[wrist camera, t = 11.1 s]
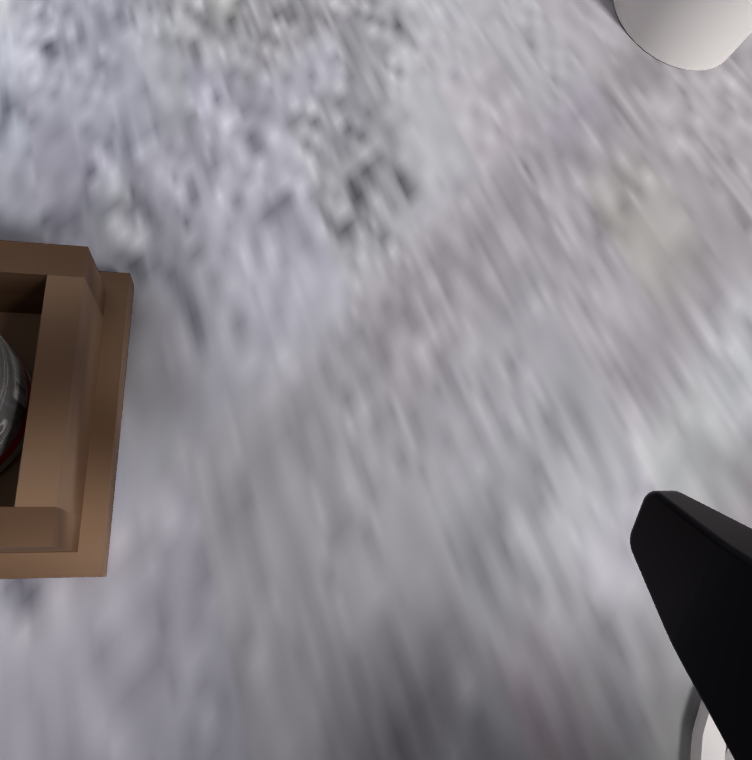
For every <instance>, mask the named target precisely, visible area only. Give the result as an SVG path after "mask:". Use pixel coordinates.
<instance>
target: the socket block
mask: <svg viewBox="0 0 752 760" xmlns="http://www.w3.org/2000/svg"><path fill="white" fill-rule="evenodd" d="M133 292H134V284H133V281H132V278H131V275H130V273H117V272H103V271H98V269H97V267H96V265H95V262H94V260H93V258H92V255H91V253H90V250H89V248H88V247H82V246H69V245H56V244H43V243H30V242H17V241H4V240H0V335H1V336H2V338H3V339H4V340H5V341H6V342H7V343H8V345H9V346H10V347H11V348H12V350H13V351H14V352H15V353H16V355H17V356H18V357H19V358H20V359H21V361H22V362H23V364H24V365H25V367H26V368H27V370H28V372H29V374H30V376H31V378H32V386H31V393H30V400H29V407H28V414H27V421H26V428H25V435H24V443H23V449H22V451H21V452H20V453H19V454H18V455H17V456H16V457H15V458H14V460H13V461H12V462H11V463H10V464H9V465H8V466H7V467H6V468H5V469H4V470H3V471H2V472H1V473H0V579H22V578H63V577H105V576H106V575H107V564H108V554H109V543H110V533H111V522H112V512H113V501H114V491H115V480H116V470H117V459H118V449H119V438H120V428H121V417H122V407H123V396H124V386H125V375H126V365H127V355H128V344H129V334H130V323H131V313H132V302H133Z"/></svg>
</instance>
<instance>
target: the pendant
mask: <svg viewBox="0 0 752 760" xmlns="http://www.w3.org/2000/svg"><path fill="white" fill-rule="evenodd" d="M725 751H726V743H725V742H724V740H723V738H722V736H721V734H720V732H719V731H718V729H717V727H716V725H715V723H714V721H713V719H712V718H711V716H710V714H709V712H708V710H707V708H706V707H705V705H704V703H703V701H701V703H700V707H699V710H698V714H697V717H696V720H695V724H694V727H693V731H692V741H691V753H690V760H734V758H733V756H732V754H731V753H730V751H729V749H727V752H726V754H725Z"/></svg>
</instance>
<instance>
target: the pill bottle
mask: <svg viewBox="0 0 752 760" xmlns="http://www.w3.org/2000/svg"><path fill="white" fill-rule="evenodd" d="M31 386H32V378H31V376H30V374H29V372H28V370H27V368H26V367H25V365H24V364H23V362H22V361H21V359H20V358H19V357H18V356H17V355H16V353H15V352H14V351H13V350H12V348H11V347H10V346H9V345H8V343H7V342H6V341H5V340H4V339H3V338H2V336H1V335H0V473H1V472H2V471H3V470H4V469H5V468H6V467H7V466H8V465H9V464H10V463H11V462H12V461H13V460H14V458H15V457H16V456H17V455H18V454H19V453H20V452H21V451H22V449H23V443H24V435H25V428H26V421H27V414H28V407H29V400H30V393H31Z"/></svg>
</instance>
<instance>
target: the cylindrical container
mask: <svg viewBox="0 0 752 760" xmlns="http://www.w3.org/2000/svg"><path fill="white" fill-rule="evenodd" d="M613 2H614V6H615V10H616V14H617V16H618V18H619V20H620V23H621V24H622V26H623V27H624V29H625V30H626V32H627V33H628V35H629V36H630V37H631V38H632V39H633V40H634V41H635V43H637V44H638V45H639V46H640V47H641V48H642V49H643V50H645V51H646V52H647V53H649V54H650V55H652V56H653V57H655V58H656V59H658V60H660V61H662V62H664V63H666V64H668V65H671V66H674V67H677V68H681V69H685V70H694V71H698V70H708V69H711V68H714V67H717V66H718V65H720V64H722V63H723V62H724V61H725V60H726V59H727V58H728V57H729V56H730V55H731V54H732V53H733V52H734V51H735V50H736V48H737V47H738V46H739V45H740V44H741V43H742V42H743V41H744V40H745V39H746V38H747V37H748V36H749V35H750V34H751V33H752V0H613Z"/></svg>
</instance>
